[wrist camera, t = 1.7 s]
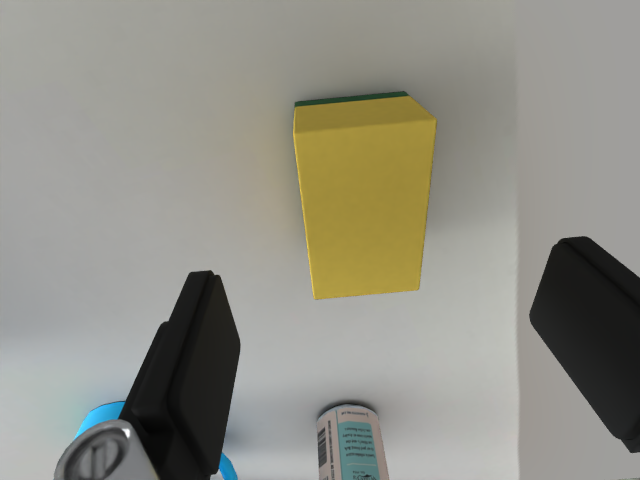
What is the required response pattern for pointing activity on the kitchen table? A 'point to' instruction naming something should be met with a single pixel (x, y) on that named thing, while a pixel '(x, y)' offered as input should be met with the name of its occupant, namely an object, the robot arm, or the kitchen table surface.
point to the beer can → (350, 445)
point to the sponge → (364, 191)
